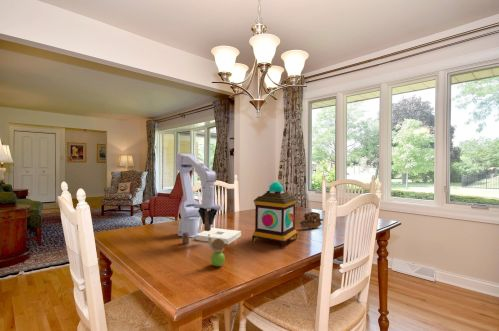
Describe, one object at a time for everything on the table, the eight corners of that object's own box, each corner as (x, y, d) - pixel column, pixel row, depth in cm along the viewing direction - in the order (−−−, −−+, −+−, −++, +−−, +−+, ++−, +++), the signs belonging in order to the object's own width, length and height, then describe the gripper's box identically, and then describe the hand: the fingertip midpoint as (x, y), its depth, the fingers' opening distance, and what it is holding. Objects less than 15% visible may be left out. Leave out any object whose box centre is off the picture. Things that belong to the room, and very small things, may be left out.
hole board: (195, 239, 131) (195, 234, 131) (211, 232, 146) (211, 227, 146) (228, 244, 125) (228, 239, 125) (241, 235, 140) (241, 231, 140)
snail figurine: (208, 263, 102) (208, 232, 101) (224, 263, 102) (225, 232, 102) (207, 268, 96) (207, 236, 96) (224, 268, 97) (225, 236, 97)
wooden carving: (304, 231, 152) (304, 213, 152) (299, 229, 156) (299, 212, 156) (324, 227, 160) (325, 211, 160) (319, 226, 164) (319, 210, 164)
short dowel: (181, 244, 124) (181, 233, 124) (184, 242, 127) (185, 232, 127) (186, 244, 123) (186, 234, 123) (190, 243, 126) (190, 232, 126)
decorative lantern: (266, 233, 146) (267, 179, 145) (300, 239, 136) (301, 181, 136) (248, 242, 129) (249, 181, 128) (285, 249, 119) (287, 183, 118)
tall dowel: (203, 230, 125) (203, 211, 125) (206, 229, 128) (206, 210, 128) (208, 231, 124) (208, 212, 124) (211, 229, 127) (212, 211, 126)
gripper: (190, 195, 125) (190, 224, 125) (217, 197, 119) (216, 227, 119) (198, 194, 131) (198, 221, 131) (224, 196, 126) (224, 224, 126)
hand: (207, 224), depth 126 cm, fingers closed on tall dowel, 3 cm apart
